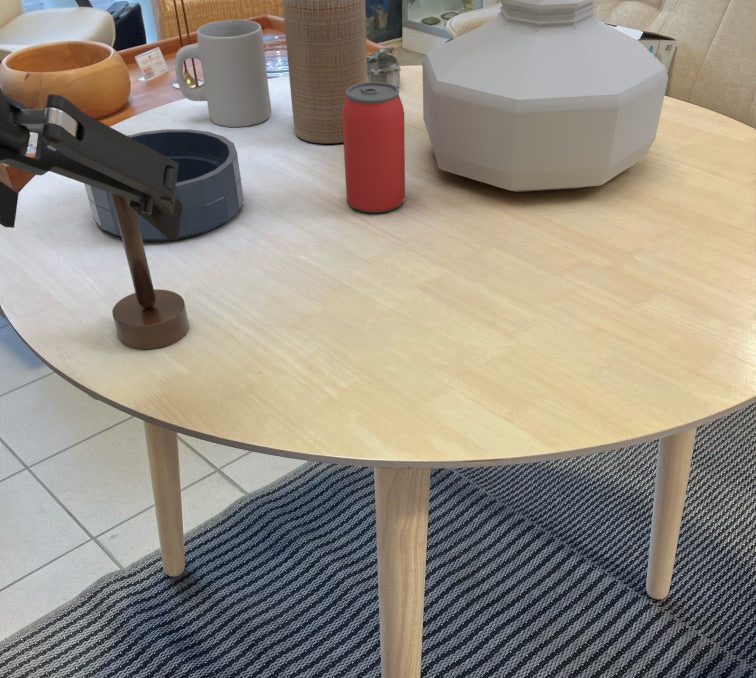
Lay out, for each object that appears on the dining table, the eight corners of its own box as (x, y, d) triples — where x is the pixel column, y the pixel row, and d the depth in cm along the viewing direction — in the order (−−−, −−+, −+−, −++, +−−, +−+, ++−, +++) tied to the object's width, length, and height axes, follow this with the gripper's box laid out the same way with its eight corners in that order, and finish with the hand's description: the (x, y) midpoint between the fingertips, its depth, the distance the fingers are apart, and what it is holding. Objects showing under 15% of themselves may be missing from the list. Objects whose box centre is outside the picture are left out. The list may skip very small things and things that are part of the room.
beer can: (384, 185, 100) (381, 75, 92) (416, 205, 96) (416, 92, 88) (336, 199, 98) (328, 88, 89) (366, 220, 93) (362, 105, 85)
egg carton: (396, 75, 129) (396, 45, 126) (402, 92, 124) (402, 61, 121) (326, 79, 129) (324, 49, 126) (328, 96, 123) (327, 65, 120)
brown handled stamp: (108, 325, 79) (55, 138, 67) (173, 305, 82) (133, 120, 70) (133, 357, 75) (81, 164, 63) (200, 335, 78) (162, 144, 66)
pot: (637, 222, 91) (674, 28, 78) (388, 194, 98) (384, 12, 85) (661, 128, 110) (693, -40, 98) (450, 110, 117) (455, -48, 105)
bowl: (75, 203, 99) (60, 151, 95) (207, 169, 105) (199, 118, 101) (125, 259, 88) (111, 203, 84) (268, 217, 95) (262, 163, 91)
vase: (305, 116, 117) (285, -135, 98) (376, 119, 116) (368, -135, 97) (285, 143, 110) (259, -121, 91) (360, 147, 109) (349, -122, 90)
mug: (267, 102, 122) (257, 16, 114) (275, 123, 116) (266, 33, 108) (182, 112, 120) (166, 25, 112) (186, 133, 114) (170, 43, 106)
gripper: (-320, 125, 47) (-60, 252, 68) (102, 148, 42) (240, 276, 63) (-302, -10, 47) (-47, 159, 68) (121, -1, 43) (253, 176, 63)
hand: (92, 216), depth 66 cm, fingers open, 13 cm apart
